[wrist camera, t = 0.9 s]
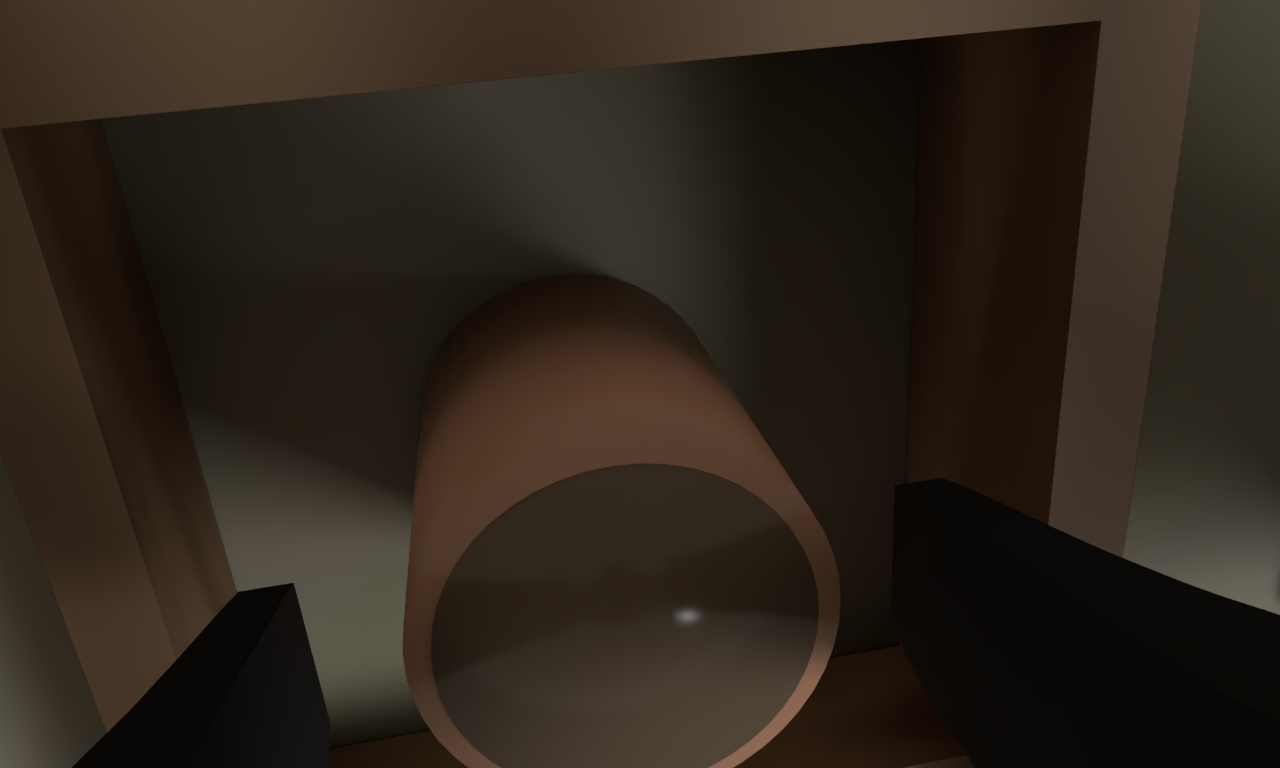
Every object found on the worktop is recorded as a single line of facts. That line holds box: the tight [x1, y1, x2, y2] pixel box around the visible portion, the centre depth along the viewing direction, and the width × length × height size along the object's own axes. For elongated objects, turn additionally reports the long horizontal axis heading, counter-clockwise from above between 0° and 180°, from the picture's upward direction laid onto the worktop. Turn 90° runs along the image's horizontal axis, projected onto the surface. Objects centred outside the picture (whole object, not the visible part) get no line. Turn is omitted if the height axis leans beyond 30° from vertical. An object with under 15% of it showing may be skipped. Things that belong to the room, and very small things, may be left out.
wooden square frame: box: [0, 0, 1202, 768], centre depth 14 cm, size 14×14×4 cm
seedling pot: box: [403, 274, 841, 768], centre depth 14 cm, size 5×5×6 cm
